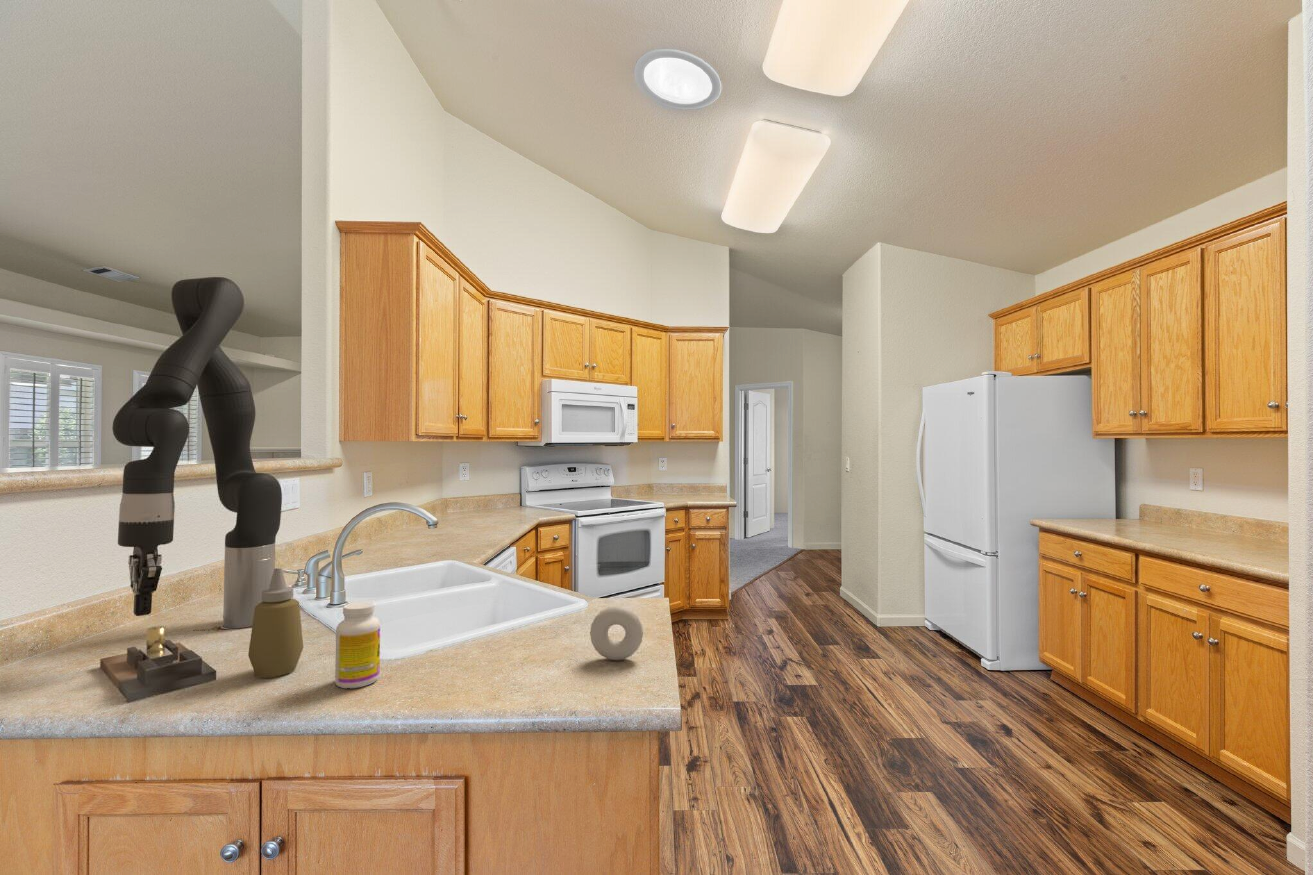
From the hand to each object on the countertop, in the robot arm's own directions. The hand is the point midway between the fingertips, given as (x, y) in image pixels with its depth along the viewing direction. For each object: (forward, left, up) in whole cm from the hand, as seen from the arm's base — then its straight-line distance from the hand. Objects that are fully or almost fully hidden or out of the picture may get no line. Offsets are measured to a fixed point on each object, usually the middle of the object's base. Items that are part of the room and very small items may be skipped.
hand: (142, 614), depth 103 cm
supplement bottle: (-21, +38, -9) cm, 44 cm away
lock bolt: (-1, +7, -7) cm, 10 cm away
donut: (-56, +65, -9) cm, 86 cm away
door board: (-1, +8, -9) cm, 12 cm away
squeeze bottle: (-14, +23, -9) cm, 28 cm away
